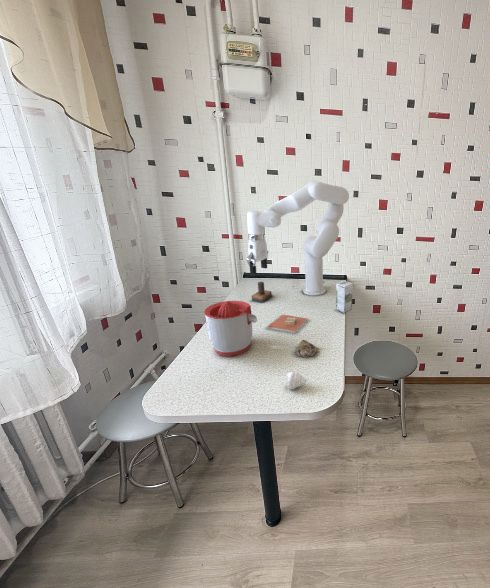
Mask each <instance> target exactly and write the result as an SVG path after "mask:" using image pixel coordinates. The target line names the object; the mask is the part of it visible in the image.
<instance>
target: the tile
mask: <svg viewBox="0 0 490 588" xmlns="http://www.w3.org/2000/svg"><path fill="white" fill-rule="evenodd" d="M287 318H296V322H295V324H294V325H285V321H286V319H287ZM308 320H309V318H307V317H301V316H294V315H289V314H281V315H280V316H278V318H276V319H275V320H274V321H273V322H272V323H270V324H269V325H268V326H267V328H273V329H279V330H284V331H291V332H296V331H298V329H299V328H301V327H302V325H304V324H305V323H306V322H307V321H308Z"/></svg>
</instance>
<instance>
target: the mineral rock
mask: <svg viewBox="0 0 490 588" xmlns="http://www.w3.org/2000/svg"><path fill="white" fill-rule="evenodd" d="M317 351H318V348H317V347H316V346H315V345H314V344H312V343H311V342H309V341H308V340H306V339H302V340H301V341H300V342H299V344H298V347H297V348H296V349H295V353H296V355H297V356H298V357H303V358H307V357H313V356H314V355H315V354H316V353H317Z"/></svg>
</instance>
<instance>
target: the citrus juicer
mask: <svg viewBox="0 0 490 588" xmlns="http://www.w3.org/2000/svg"><path fill="white" fill-rule="evenodd" d="M203 314H204V316H205V321H206V328H207V332H208V333H207V334H208V339H209V342H210V343H211V345H212V349H213V350H214V351H215V352H216V354H217V355H219V356H223V357H234V356H235V357H236V356H239V355H242V354H244V353H245V352H247V351H249V348H250V346H251V344H252V339H253V323H257V322H258V318H257V316H256V315H255V314H253V313H252V306H251V305H250V303H248V302H246V301H243V300H224V301H220V302H216V303H213V304H211V305H208V306H207V307H206V308H205V309H204V311H203Z"/></svg>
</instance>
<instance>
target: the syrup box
mask: <svg viewBox="0 0 490 588" xmlns="http://www.w3.org/2000/svg"><path fill="white" fill-rule="evenodd" d="M335 285H336V287H335V288H336V291H335V296H336V297H335V309H336V310H338V312H339V313H343V314H345V313H349V312H350V311H352V310H353V289H354V288H353V287H354V283H352V282H350V281H348V280H342V281H340V282H337V283H336V284H335Z"/></svg>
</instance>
